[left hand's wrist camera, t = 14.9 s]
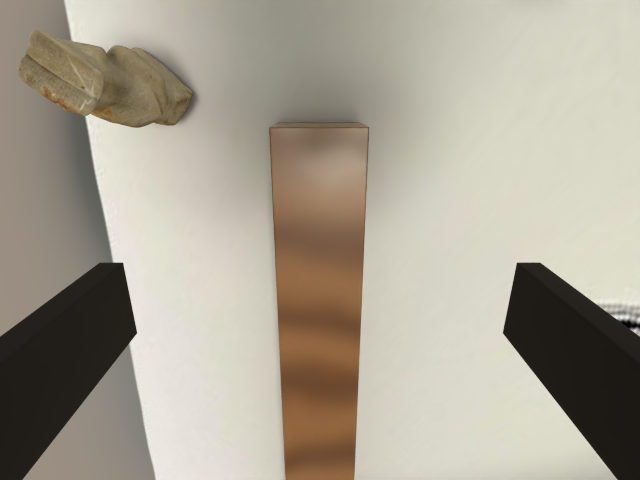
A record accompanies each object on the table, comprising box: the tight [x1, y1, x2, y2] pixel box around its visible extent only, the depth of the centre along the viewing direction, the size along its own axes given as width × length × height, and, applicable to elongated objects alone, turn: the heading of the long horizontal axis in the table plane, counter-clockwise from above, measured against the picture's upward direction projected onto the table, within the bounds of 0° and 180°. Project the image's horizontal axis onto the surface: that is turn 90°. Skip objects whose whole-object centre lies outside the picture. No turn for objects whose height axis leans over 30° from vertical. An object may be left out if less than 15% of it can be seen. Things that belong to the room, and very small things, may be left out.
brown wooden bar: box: [269, 123, 369, 480], centre depth 48 cm, size 75×8×7 cm, turn 0°
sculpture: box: [17, 30, 193, 128], centre depth 30 cm, size 6×7×15 cm
